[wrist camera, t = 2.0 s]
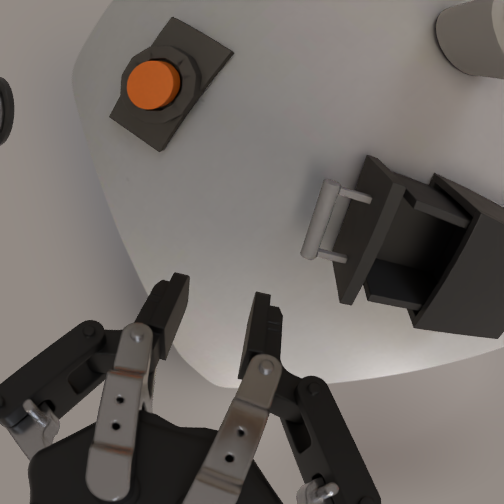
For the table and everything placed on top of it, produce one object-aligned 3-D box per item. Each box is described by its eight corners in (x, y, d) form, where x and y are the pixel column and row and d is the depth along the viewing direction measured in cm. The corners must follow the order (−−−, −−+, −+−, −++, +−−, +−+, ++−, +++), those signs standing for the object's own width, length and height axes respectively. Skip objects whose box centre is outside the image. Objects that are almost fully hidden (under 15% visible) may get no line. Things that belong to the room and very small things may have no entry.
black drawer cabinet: (390, 269, 32) (413, 328, 24) (434, 173, 25) (481, 213, 17) (470, 289, 32) (497, 339, 24) (512, 213, 25) (554, 254, 17)
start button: (163, 116, 23) (155, 119, 22) (127, 92, 22) (118, 94, 21) (190, 76, 21) (183, 76, 20) (152, 53, 20) (143, 52, 18)
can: (418, 27, 17) (489, 9, 7) (457, -2, 14) (527, -20, 4) (463, 87, 20) (541, 105, 10) (498, 55, 16) (574, 65, 6)
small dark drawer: (293, 245, 31) (293, 293, 24) (324, 141, 25) (337, 164, 18) (428, 278, 31) (450, 323, 25) (470, 196, 25) (508, 231, 18)
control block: (165, 150, 28) (153, 158, 25) (113, 114, 26) (98, 119, 23) (235, 53, 22) (229, 50, 19) (175, 18, 20) (163, 12, 17)
